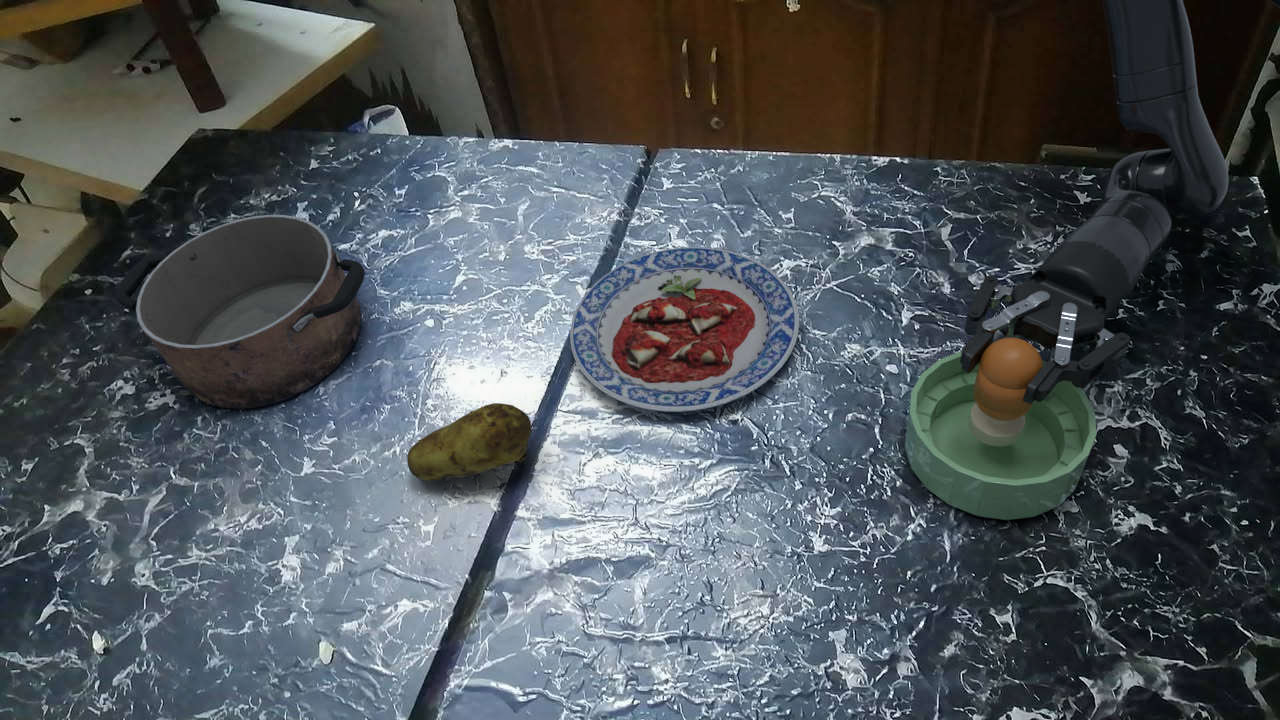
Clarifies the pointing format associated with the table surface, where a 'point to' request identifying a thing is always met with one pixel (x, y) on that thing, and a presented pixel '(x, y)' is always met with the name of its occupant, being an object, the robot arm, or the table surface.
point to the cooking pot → (249, 309)
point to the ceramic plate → (684, 329)
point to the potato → (472, 444)
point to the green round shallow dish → (996, 474)
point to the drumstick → (1003, 391)
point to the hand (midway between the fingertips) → (997, 380)
